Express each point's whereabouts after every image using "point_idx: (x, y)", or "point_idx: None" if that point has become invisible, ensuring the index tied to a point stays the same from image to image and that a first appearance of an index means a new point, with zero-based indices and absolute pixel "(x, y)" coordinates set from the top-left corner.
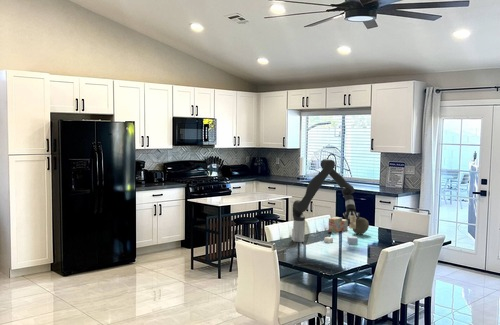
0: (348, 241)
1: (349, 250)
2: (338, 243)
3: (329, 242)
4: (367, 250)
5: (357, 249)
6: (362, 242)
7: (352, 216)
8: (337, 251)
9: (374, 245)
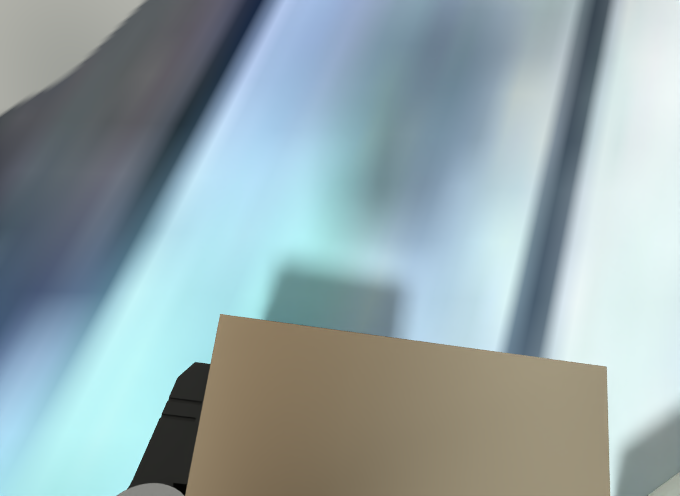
0: None
1: (479, 38)
2: None
3: (672, 478)
4: (257, 25)
5: (366, 74)
6: (105, 493)
7: (469, 348)
8: (626, 9)
9: (11, 273)
